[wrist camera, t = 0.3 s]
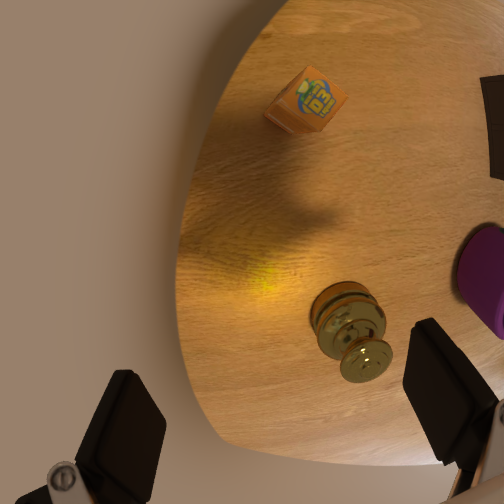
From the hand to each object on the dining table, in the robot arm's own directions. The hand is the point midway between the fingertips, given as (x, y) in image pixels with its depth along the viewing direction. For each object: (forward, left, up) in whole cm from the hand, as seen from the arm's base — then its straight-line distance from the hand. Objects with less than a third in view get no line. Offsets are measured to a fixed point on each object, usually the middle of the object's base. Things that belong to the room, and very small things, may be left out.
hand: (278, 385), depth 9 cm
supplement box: (-9, +4, -20) cm, 23 cm away
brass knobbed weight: (+12, +7, -20) cm, 24 cm away
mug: (+11, +30, -20) cm, 38 cm away
